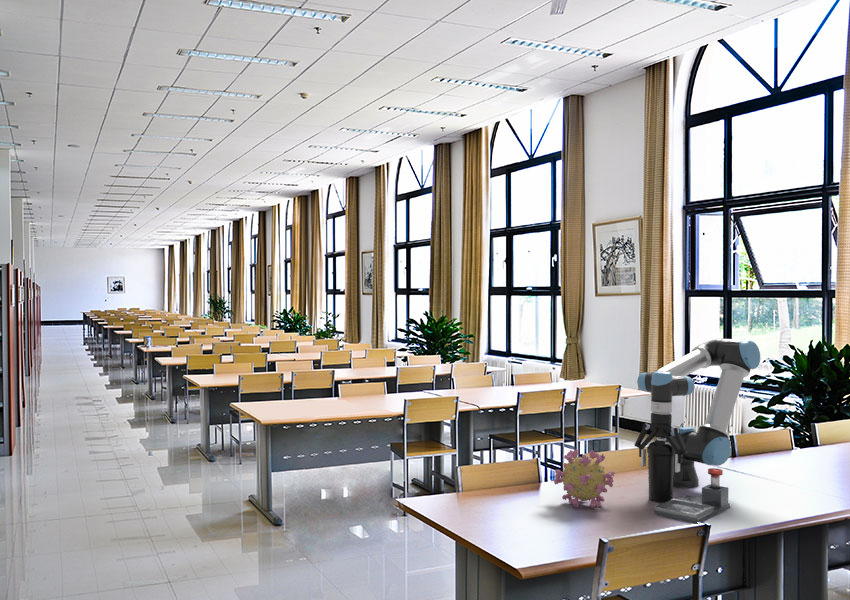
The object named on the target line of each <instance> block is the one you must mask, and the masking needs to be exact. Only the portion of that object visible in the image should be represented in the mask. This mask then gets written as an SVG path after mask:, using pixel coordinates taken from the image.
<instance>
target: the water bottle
mask: <svg viewBox="0 0 850 600" xmlns="http://www.w3.org/2000/svg"><path fill="white" fill-rule="evenodd" d="M666 440H667V439H665V438H661V437H655V440H654V441H652V442H649V443H648V446H647V447H646V454H647V459H648V460H647V463H648V465H647V466H648V473H647V474H648V500H649V501H651V502H654V503H659V504H662V503H664V502H666V501H669V500H671V499H674V498H673V495H674V494H673V493H674V487H673V472H674V455H675V450H674V448H673V447H672V445H671V444H670V443H668V442H666Z"/></svg>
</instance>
